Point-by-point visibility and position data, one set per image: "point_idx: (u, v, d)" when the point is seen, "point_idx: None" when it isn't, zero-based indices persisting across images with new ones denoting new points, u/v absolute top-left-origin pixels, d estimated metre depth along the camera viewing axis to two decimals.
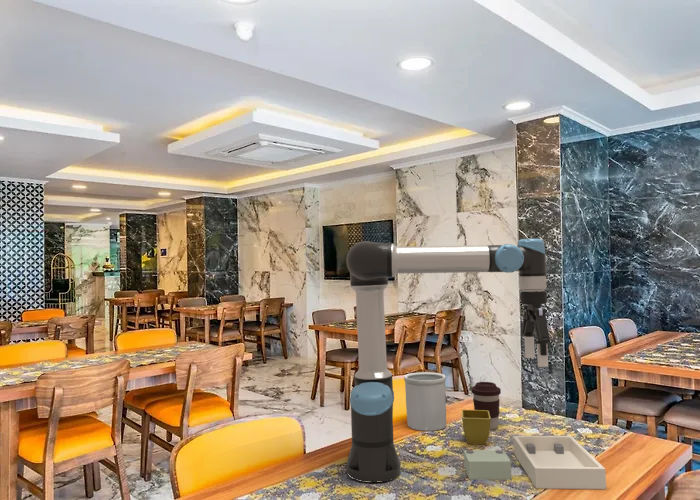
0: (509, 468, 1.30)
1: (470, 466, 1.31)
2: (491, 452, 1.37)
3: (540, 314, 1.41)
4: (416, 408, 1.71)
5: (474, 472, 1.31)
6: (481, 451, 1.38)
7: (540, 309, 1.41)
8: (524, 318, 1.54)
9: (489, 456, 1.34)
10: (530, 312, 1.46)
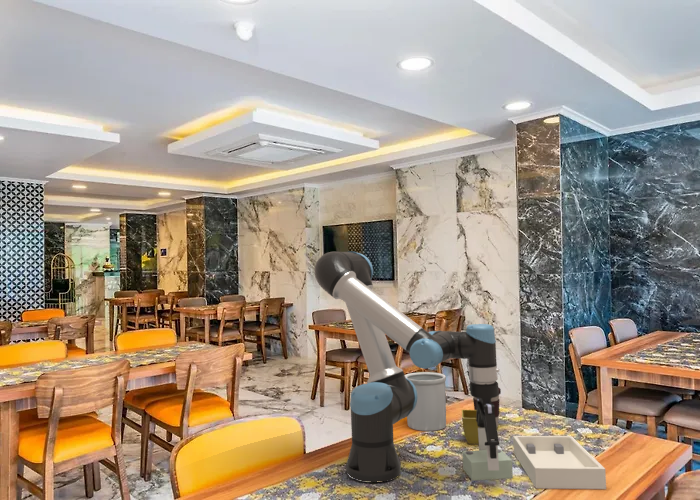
0: (510, 467, 1.31)
1: (473, 467, 1.30)
2: None
3: (489, 412, 1.28)
4: (416, 408, 1.71)
5: (477, 473, 1.30)
6: (480, 451, 1.38)
7: (489, 406, 1.29)
8: None
9: None
10: (480, 406, 1.33)
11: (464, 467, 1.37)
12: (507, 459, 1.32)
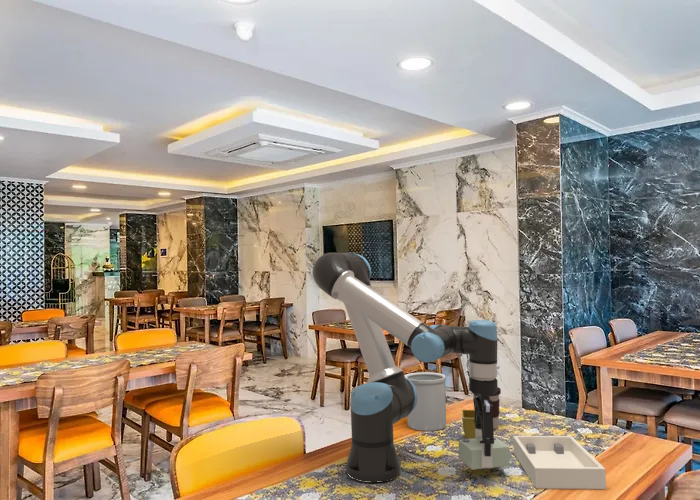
0: (508, 453, 1.32)
1: (473, 455, 1.30)
2: None
3: (487, 411, 1.29)
4: (416, 408, 1.71)
5: (476, 460, 1.30)
6: (476, 439, 1.38)
7: (487, 406, 1.29)
8: None
9: None
10: (478, 403, 1.34)
11: (461, 455, 1.36)
12: (505, 446, 1.33)
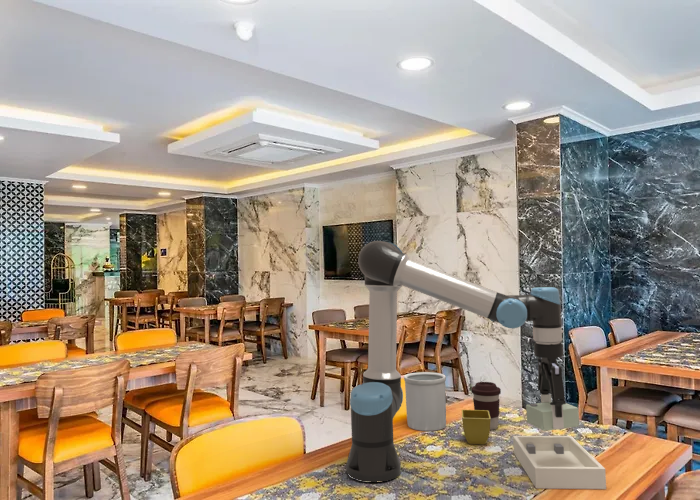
0: (577, 414, 1.36)
1: (544, 417, 1.33)
2: None
3: (556, 373, 1.32)
4: (416, 408, 1.71)
5: (547, 422, 1.33)
6: (543, 403, 1.41)
7: (556, 367, 1.32)
8: (539, 372, 1.45)
9: None
10: (545, 366, 1.37)
11: (529, 419, 1.39)
12: (573, 407, 1.36)
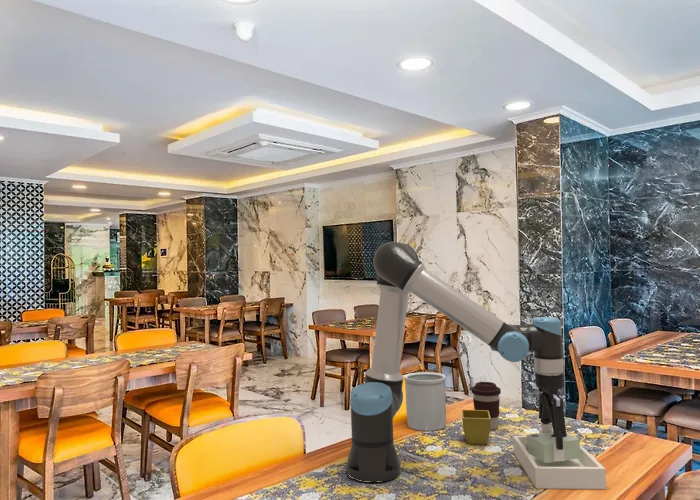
0: (578, 446, 1.35)
1: (545, 449, 1.33)
2: (553, 433, 1.41)
3: (557, 405, 1.32)
4: (416, 408, 1.71)
5: (548, 454, 1.33)
6: (543, 433, 1.41)
7: (558, 400, 1.32)
8: (540, 401, 1.44)
9: None
10: (546, 397, 1.37)
11: (530, 450, 1.39)
12: (574, 439, 1.36)
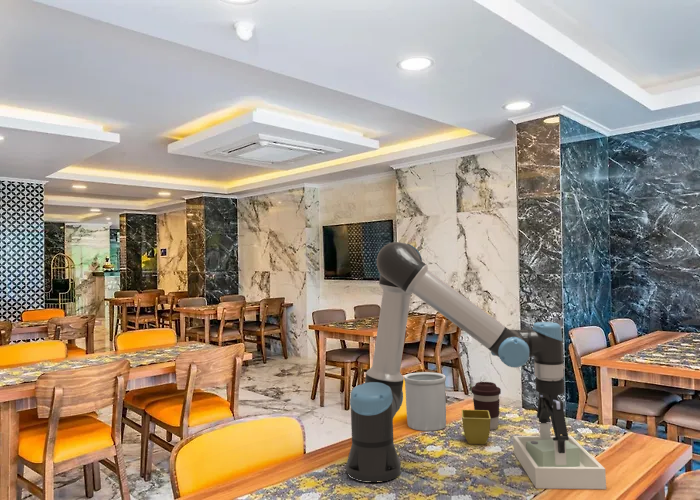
0: (578, 454, 1.35)
1: (544, 456, 1.33)
2: (553, 441, 1.41)
3: (558, 408, 1.32)
4: (416, 408, 1.71)
5: (547, 461, 1.33)
6: (543, 441, 1.41)
7: (558, 402, 1.32)
8: (539, 403, 1.45)
9: None
10: (546, 402, 1.37)
11: None
12: (574, 447, 1.36)
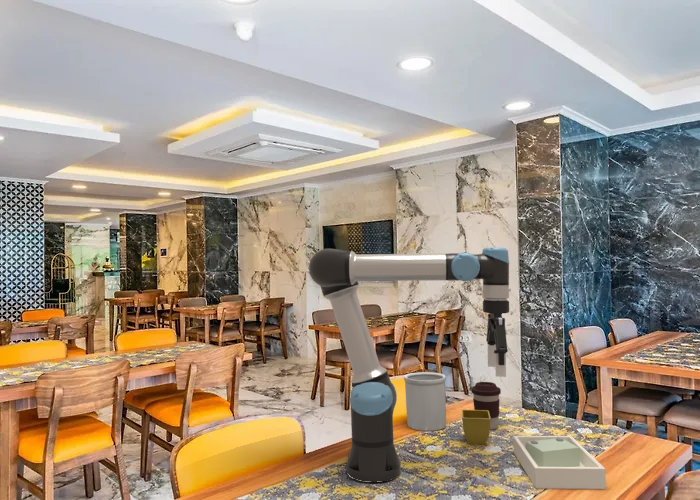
0: (578, 454, 1.35)
1: (544, 456, 1.33)
2: (553, 441, 1.41)
3: (500, 323, 1.40)
4: (416, 408, 1.71)
5: (547, 461, 1.33)
6: (543, 441, 1.41)
7: (500, 318, 1.40)
8: None
9: (554, 444, 1.38)
10: (491, 321, 1.45)
11: None
12: (574, 447, 1.36)
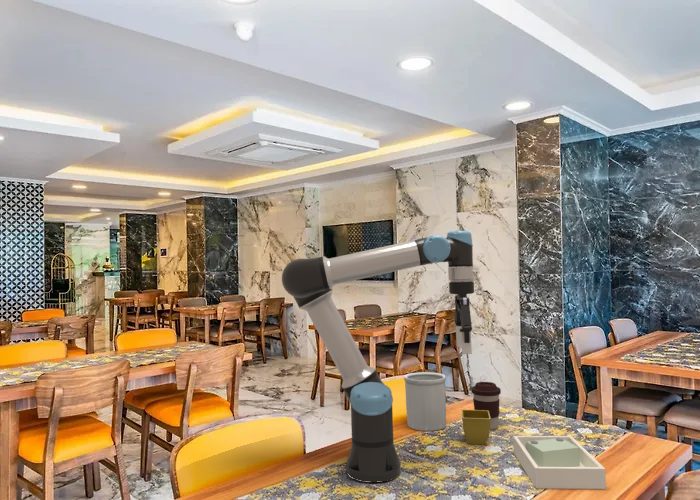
0: (578, 454, 1.35)
1: (544, 456, 1.33)
2: (553, 441, 1.41)
3: (464, 303, 1.46)
4: (416, 408, 1.71)
5: (547, 461, 1.33)
6: (543, 441, 1.41)
7: (464, 298, 1.46)
8: None
9: (554, 444, 1.38)
10: (457, 302, 1.51)
11: None
12: (574, 447, 1.36)
